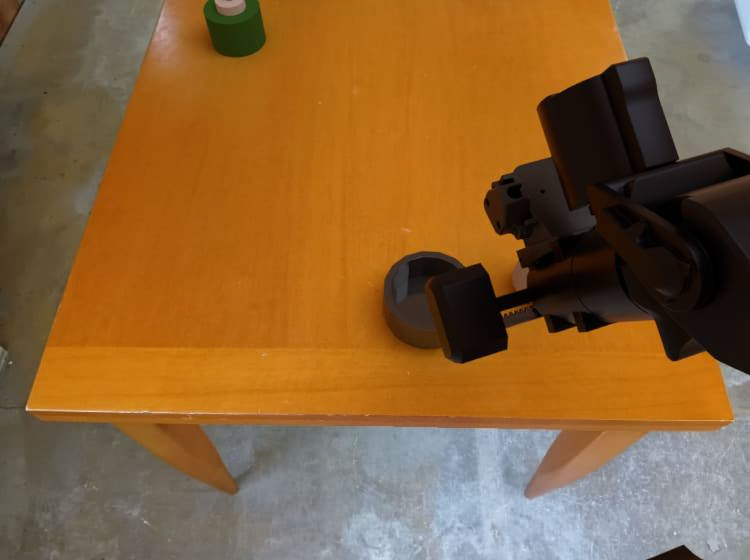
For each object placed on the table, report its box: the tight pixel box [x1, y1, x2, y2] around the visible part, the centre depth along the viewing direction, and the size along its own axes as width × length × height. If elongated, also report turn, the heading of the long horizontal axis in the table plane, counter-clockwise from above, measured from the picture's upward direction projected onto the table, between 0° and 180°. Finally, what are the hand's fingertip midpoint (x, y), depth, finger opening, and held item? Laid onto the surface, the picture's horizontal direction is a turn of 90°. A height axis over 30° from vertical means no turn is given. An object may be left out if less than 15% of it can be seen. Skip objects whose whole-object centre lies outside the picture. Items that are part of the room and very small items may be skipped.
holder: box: [382, 250, 466, 350], centre depth 61 cm, size 10×10×4 cm
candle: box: [202, 0, 267, 58], centre depth 84 cm, size 8×8×10 cm
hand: (515, 294), depth 49 cm, fingers open, 9 cm apart
